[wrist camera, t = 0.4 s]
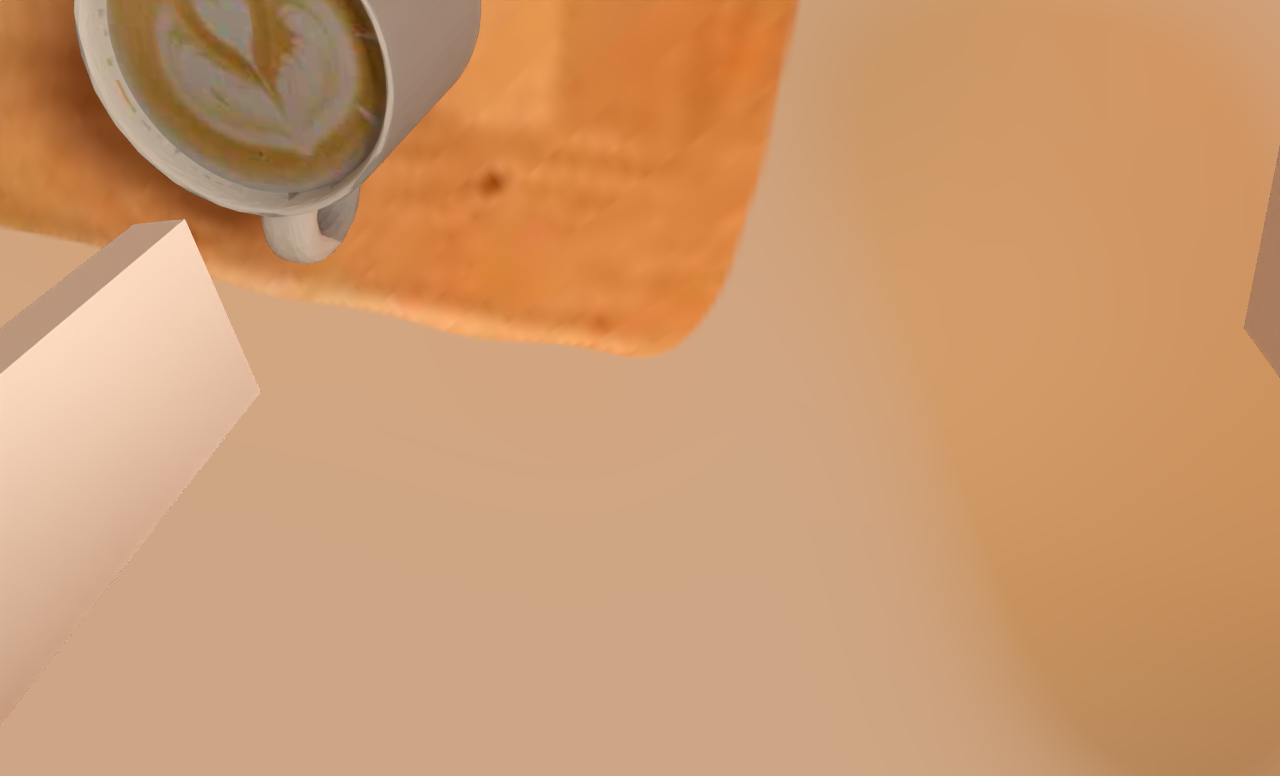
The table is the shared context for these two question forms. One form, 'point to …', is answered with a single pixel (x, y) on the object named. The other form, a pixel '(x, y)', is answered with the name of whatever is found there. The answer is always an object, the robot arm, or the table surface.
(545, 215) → the table surface
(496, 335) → the table surface
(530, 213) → the table surface
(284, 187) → the coffee mug
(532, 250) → the table surface
